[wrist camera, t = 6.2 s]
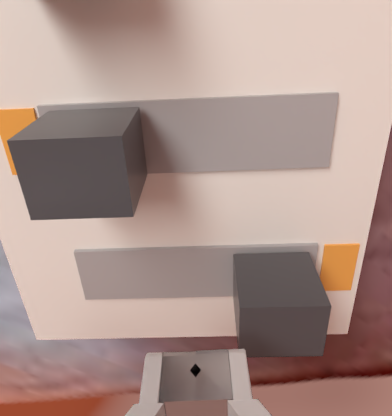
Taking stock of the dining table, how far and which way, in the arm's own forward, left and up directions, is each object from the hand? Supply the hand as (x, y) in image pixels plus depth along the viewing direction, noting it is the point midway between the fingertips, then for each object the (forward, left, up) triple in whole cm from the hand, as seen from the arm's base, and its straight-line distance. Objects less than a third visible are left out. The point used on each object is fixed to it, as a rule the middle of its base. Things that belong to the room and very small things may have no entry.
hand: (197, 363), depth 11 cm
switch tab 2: (+3, 0, -4) cm, 5 cm away
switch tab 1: (-3, +6, -5) cm, 8 cm away
